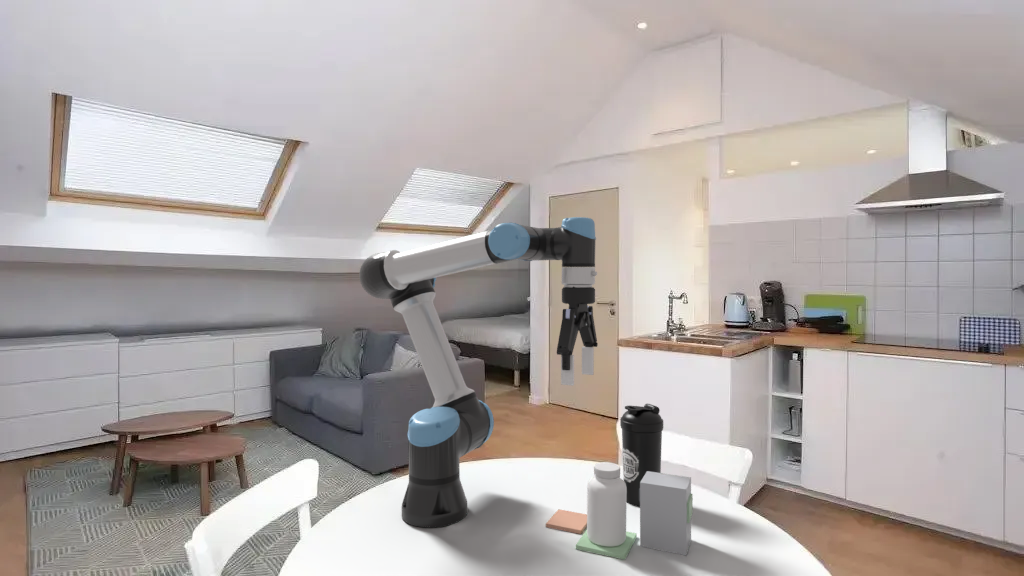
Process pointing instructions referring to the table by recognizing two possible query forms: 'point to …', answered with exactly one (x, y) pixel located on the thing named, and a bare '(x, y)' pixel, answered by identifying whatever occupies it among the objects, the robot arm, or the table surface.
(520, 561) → the table surface
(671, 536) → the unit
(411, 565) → the table surface
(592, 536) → the pill bottle
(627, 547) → the green pad
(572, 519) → the terracotta pad
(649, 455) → the water bottle
